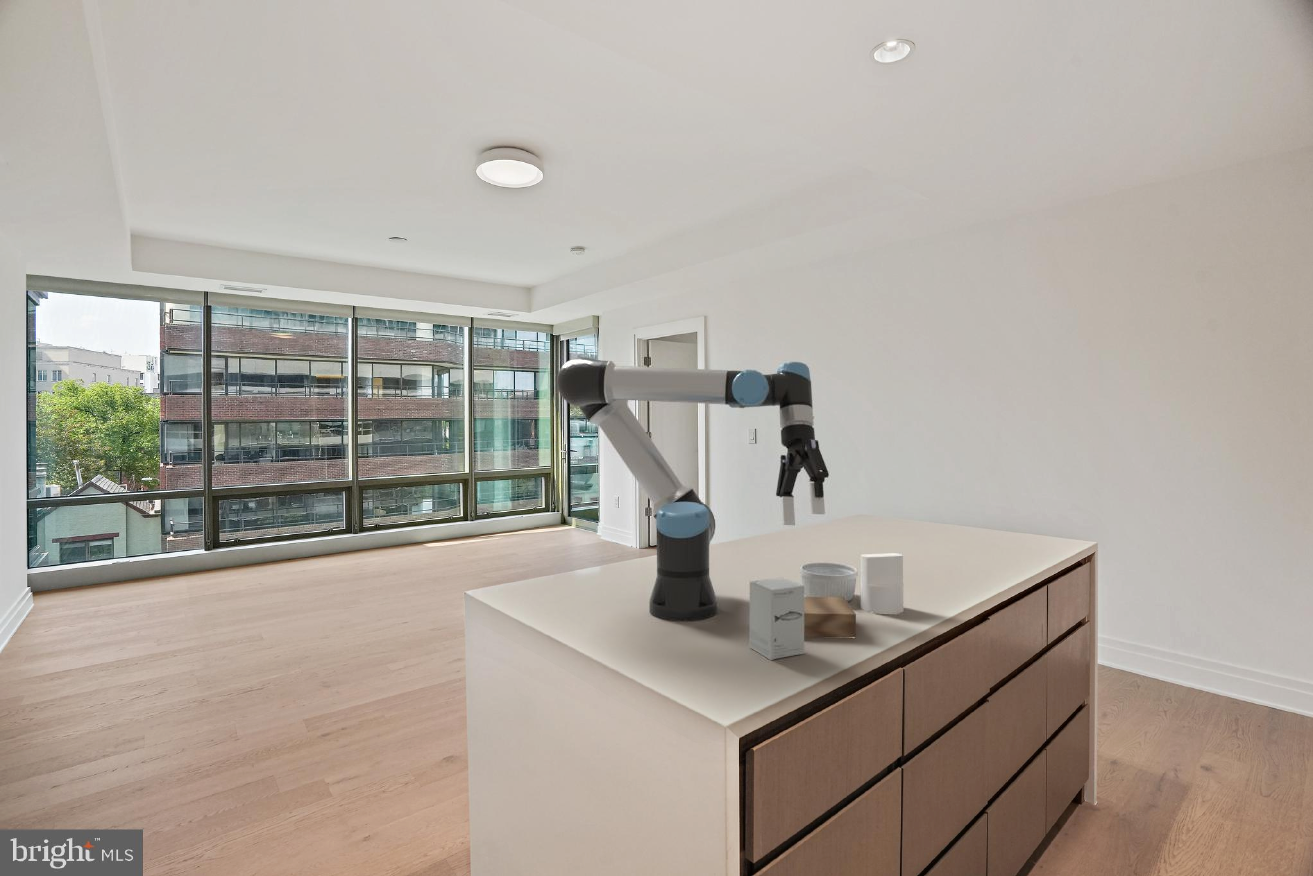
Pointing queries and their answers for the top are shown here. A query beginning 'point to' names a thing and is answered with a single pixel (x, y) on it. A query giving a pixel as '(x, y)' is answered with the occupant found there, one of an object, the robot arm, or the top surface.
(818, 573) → the ramekin
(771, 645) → the supplement box
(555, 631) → the top surface
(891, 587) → the cylinder with rectangular tab
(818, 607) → the walnut block
